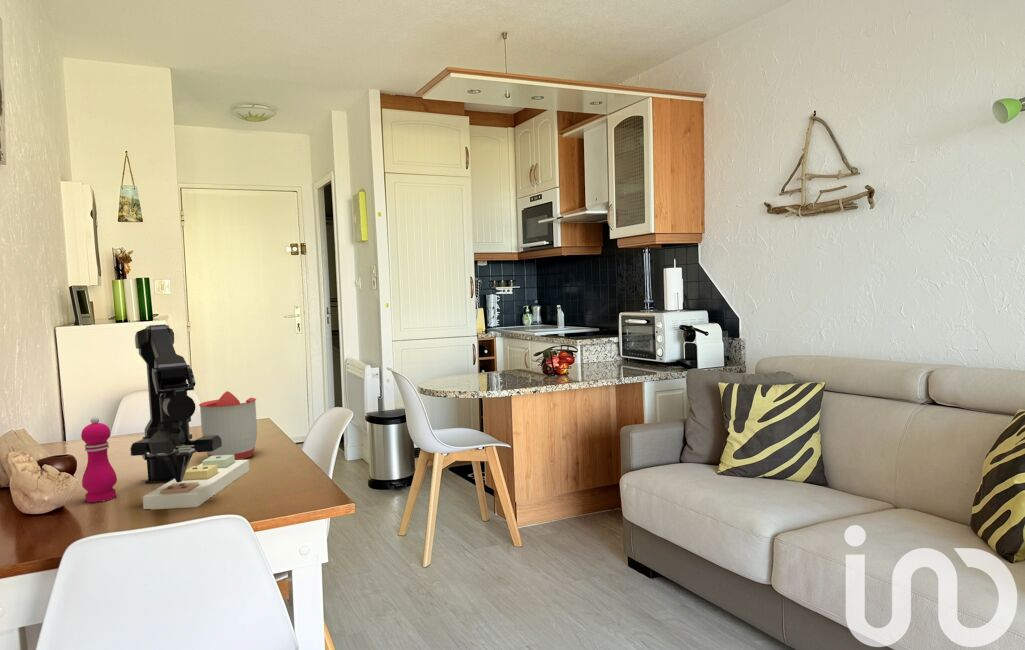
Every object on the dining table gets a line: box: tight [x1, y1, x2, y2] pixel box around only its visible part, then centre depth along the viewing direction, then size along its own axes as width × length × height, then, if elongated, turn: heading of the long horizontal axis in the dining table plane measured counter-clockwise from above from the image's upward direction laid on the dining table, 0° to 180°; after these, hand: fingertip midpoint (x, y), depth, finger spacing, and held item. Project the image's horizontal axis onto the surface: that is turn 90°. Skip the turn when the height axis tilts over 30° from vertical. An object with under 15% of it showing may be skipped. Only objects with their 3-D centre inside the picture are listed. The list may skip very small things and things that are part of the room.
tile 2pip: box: [183, 465, 218, 481], centre depth 171 cm, size 6×6×2 cm
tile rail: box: [142, 459, 250, 510], centre depth 171 cm, size 12×32×3 cm, turn 1°
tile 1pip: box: [201, 455, 235, 468], centre depth 182 cm, size 6×6×2 cm
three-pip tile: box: [160, 482, 199, 494], centre depth 160 cm, size 6×6×2 cm
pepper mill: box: [80, 416, 118, 503], centre depth 165 cm, size 7×7×20 cm
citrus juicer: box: [198, 390, 258, 460], centre depth 204 cm, size 16×17×20 cm
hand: (179, 481), depth 160 cm, fingers closed
